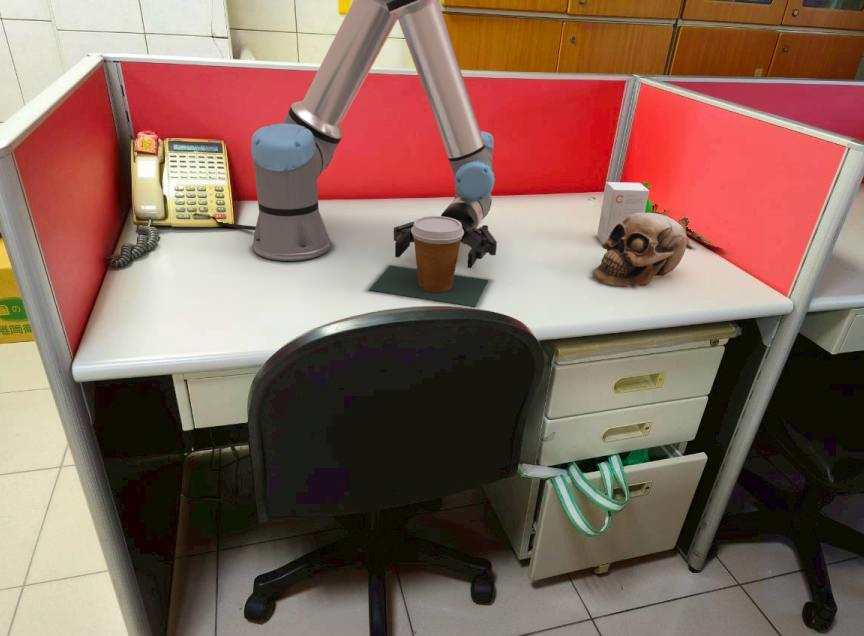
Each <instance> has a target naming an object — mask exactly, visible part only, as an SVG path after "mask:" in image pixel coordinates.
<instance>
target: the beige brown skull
mask: <svg viewBox="0 0 864 636" xmlns="http://www.w3.org/2000/svg"><path fill="white" fill-rule="evenodd" d="M678 222H679V221H678ZM678 222H677V221H676V220H675V219H673V218H671V217H669V216H667V215H663V214H659V213H658V214H657V213H655V212H651V213H634V214H631V215H630V216H628V217H627V218H626V219H625V220H624V221H623V222H622V223H619V224H617V225H616V226H615V227H614V229H613V230H612V232H611V234H610V236H609V239H608V240H607V241H606V242H605V243H604V244H602V249H604V250H606V252H604V254H603V256H602V259H601V261H600V262H601V263H600V264H599V265H598V266H597V267H596V269H595V270H594V271H593V273H592V278H593V279H595V280H596V281H597V282H600V283H602V284H606V285H610V286H617V287H618V286H620V287H624V286H630V287H633V286H641V287H646V286H648V285H649V284H650V283H651V282H652V280H653V279H654V278H655V277H664V276H666V275H668V274H669V273H671V272H672V271H674V269H676V267H678V265H679V264H680V263H681V261H682V259H683V257H684V256H685V253H686V249H687V246H686V235H687V234H686V235H685V231H684V229H683V227H682V226H681V225H680V224H679V223H678Z"/></svg>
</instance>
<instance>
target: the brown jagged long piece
mask: <svg viewBox="0 0 864 636" xmlns="http://www.w3.org/2000/svg"><path fill="white" fill-rule="evenodd" d="M678 223H679V224H680V225H681V226H682V227H683V229H684V231H685V235H686V248H688V249H693V247H692V244H691V243H690V241H689V238H688V236H690V237H691V238H693V239H696V240H697V241H699V242H701V243H703V244H704V245H706V246H708V247H709V246H710V247H711V248H716V249H718V248H717V247H715V246H713V245H710V244H708V243H711V242H710V241H711V240H706V239H705V238H704V237H703V236H702V235H699V234H697V233H695V232H694V231H693V232H692V231H691V229H688V227H686V226H687V225H688V223H689V220H688V218H685V217H684V218H683V219H681V220H680V219H679V221H678ZM690 233H691V234H690ZM704 241H706V242H708V243H706V242H704Z"/></svg>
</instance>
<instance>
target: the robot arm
mask: <svg viewBox="0 0 864 636" xmlns="http://www.w3.org/2000/svg"><path fill="white" fill-rule="evenodd" d="M397 22H398V23H399V26H400V29H401V32H402V35H403V37H404V40H405V43H406V45H407V48H408V51H409V54H410V57H411V59H412V62H413V64H414V65H413V66H414V68H415V70H416V73H417V76H418V78H419V82H420V85H421V88H422V90H423V92H424V95H425V98H426V100H427V103H428V106H429V109H430V112H431V114H432V117H433V121H434V124H435V126H436V129H437V131H438V133H439V136H440V139H441V143H442V146H443V148H444V150H445V153H446V157H447V159H448V162H449V165H450V169H451V171H452V175H453V177H454V178H453V179H454V186H455V189H454V190H455V192H454V199H453V200H452V201H451V202H450V204H449V205H448V206H447V207H446V208H445V210H444V211H443V212H442V213H441V215H440V216H442V217H449V218H452V219H455V220H458V221H459V222H460V223H461V224H462V229H463V230H464V234H463V236H462V238H461V241H460V244H462V245H467V246H468V247H470V248H471V249H470V250H469V252H468V253H467V264H466V269H472V268H473V267H474V265H475V263H476V261H477V260H481V259H483V258H484V256H486V255H487V254H489V255H490V256H496V255H497V245H498V242H497V240H496V239H495V238H494V236H493V235H492V234H491V232H490V231H489V225H487V224H483V225H482V226H480V225H481V223H482V221H483V220H484V219H485V218H486V217H487V215H488V214H489V212H490V211H491V207H492V204H493V197H492V194H491V193H492V191H493V189H494V186H495V182H496V177H495V176H496V175H495V172H494V163H493V157H494V156H493V155H494V150H495V149H494V136H493V135H492V134H491V133H489V132H487V131H482V130H481V129H480V126H479V123H478V120H477V116H476V113H475V110H474V107H473V104H472V101H471V98H470V95H469V92H468V89H467V86H466V83H465V79H464V76H463V73H462V70H461V67H460V64H459V61H458V58H457V55H456V51H455V49H454V46H453V45H454V44H453V42H452V39H451V36H450V33H449V30H448V27H447V23H446V20H445V17H444V15H443V11H442V8H441V5H440V0H352V3H351V5H350V6H349V8H348V10H347V12H346V15H345V16H344V18H343V20H342V22H341V24H340V26H339V28H338V30H337V32H336V35H335V36H334V38H333V40H332V42H331V44H330V46H329V48H328V50H327V52H326V54H325V56H324V58H323V60H322V62H321V64H320V66H319V68H318V69H317V72H316V74H315V76H314V78H313V80H312V81H311V84H310V86H309V88H308V90H307V92H306V94H305V96H304V97H303V100H300V101H295V102H293V103H291V105H290V108H289V109H288V112H287V113H286V116H285V118H284V119H283V121H282V123H274V124H270V125H269V126H267V125H265V126H263V127H259V128H258V129H256V131H255V132H254V133H253V134H252V137H251V147H250V151H251V159H252V164H253V171H254V180H255V189H256V196H257V197H256V198H257V204H258V215H257V219H256V224H255V225H246V224H245V225H244V224H240V223H239V224H238V223H232V224H229V223H230V222H227V223H223V222H216V223H217V224H219V225H220V226H223V227H227V228H231V229H238V230H239V229H240V230H247V231H254V234H253V240H252V244H253V250H254V253H256V254H257V255H258V256H260V257H262V258H265V259H269V260H271V261H272V260H273V261H282V262H297V261H306V260H312V259H314V258H317V257H321V256H322V255H325V254H326V253H327V252H328V251H329V250H330V248H331V241H330V235H329V232H328V230H327V228H326V225H325V223H324V220H323V218H322V215H321V213H320V210H319V193H318V178H319V177H320V176H321V174H322V173H323V172H324V171H325V170H326V169H327V168H328V167H329V166H330V164H331V163H332V161H333V158H334V154H335V151H336V150H337V148H338V146H339V144H340V142H341V141H342V139H343V137H344V132H343V129H342V122H343V121H344V119H345V117H346V116H347V114H348V112H349V110H350V108H351V106H352V104H353V102H354V100H355V98H356V97H357V95H358V93H359V92H360V89H361V88H362V86H363V84H364V82H365V81H366V78H367V77H368V75H369V73H370V71H371V69H372V67H373V66H374V64H375V62H376V61H377V58H378V57H379V55H380V53H381V51H382V50H383V47H384V46H385V43H386V42H387V40H388V38H389V37H390V34H391V33H392V30H393V29H394V27H395V25H396V24H397ZM413 225H414V221H409V222H408V223H404V224H401V225H398V226H394V227H393V241H394V257H395V258H401V256H402V255H403V254H404V253H405V252H406V251H407V250H408V248H409V247H410V246H411V243H412V244H413V243H414V237H413V234H412V232H411V228H412V227H413ZM479 226H480V227H479Z"/></svg>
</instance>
